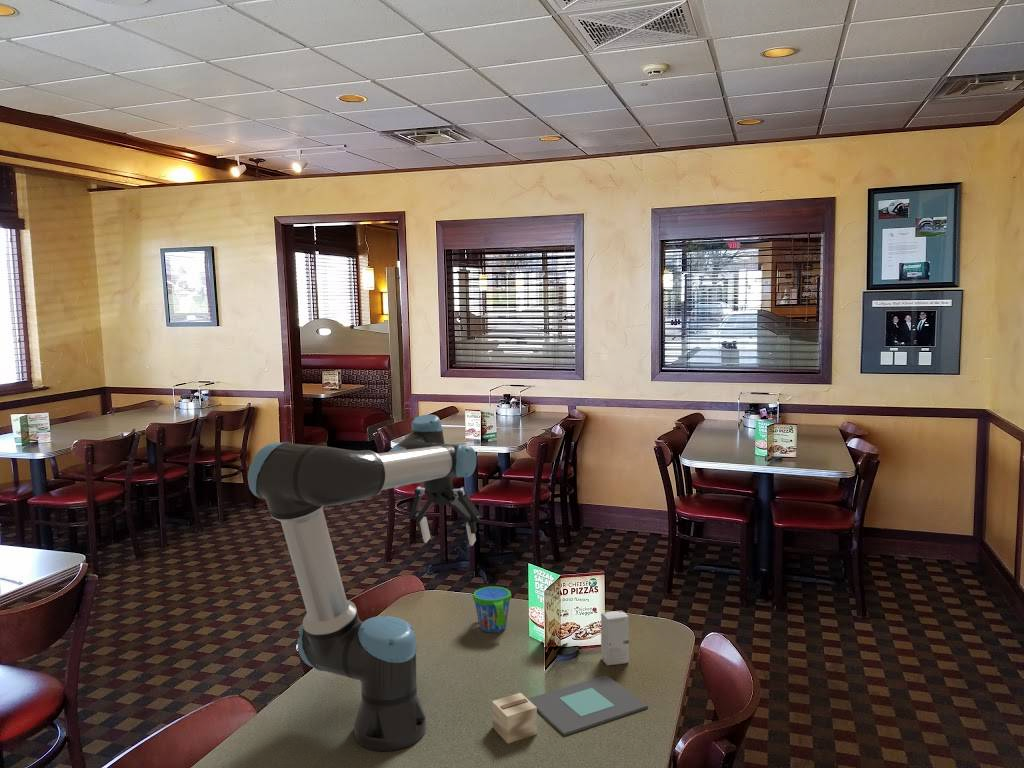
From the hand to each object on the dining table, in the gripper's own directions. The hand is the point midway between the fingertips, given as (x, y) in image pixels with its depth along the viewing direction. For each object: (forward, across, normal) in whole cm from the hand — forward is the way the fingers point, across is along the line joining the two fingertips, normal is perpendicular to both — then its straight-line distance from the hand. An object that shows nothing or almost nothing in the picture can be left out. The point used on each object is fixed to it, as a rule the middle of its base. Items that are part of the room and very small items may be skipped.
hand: (449, 541), depth 203 cm
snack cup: (+28, -8, 0) cm, 29 cm away
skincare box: (+27, -44, +8) cm, 53 cm away
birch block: (+16, -31, +44) cm, 57 cm away
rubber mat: (+21, -43, +30) cm, 56 cm away
